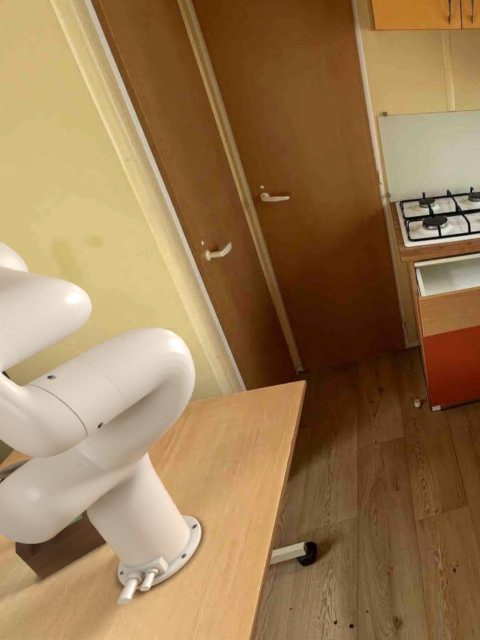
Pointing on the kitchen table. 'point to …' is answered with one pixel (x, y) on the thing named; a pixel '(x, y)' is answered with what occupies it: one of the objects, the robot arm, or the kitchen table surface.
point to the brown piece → (61, 547)
